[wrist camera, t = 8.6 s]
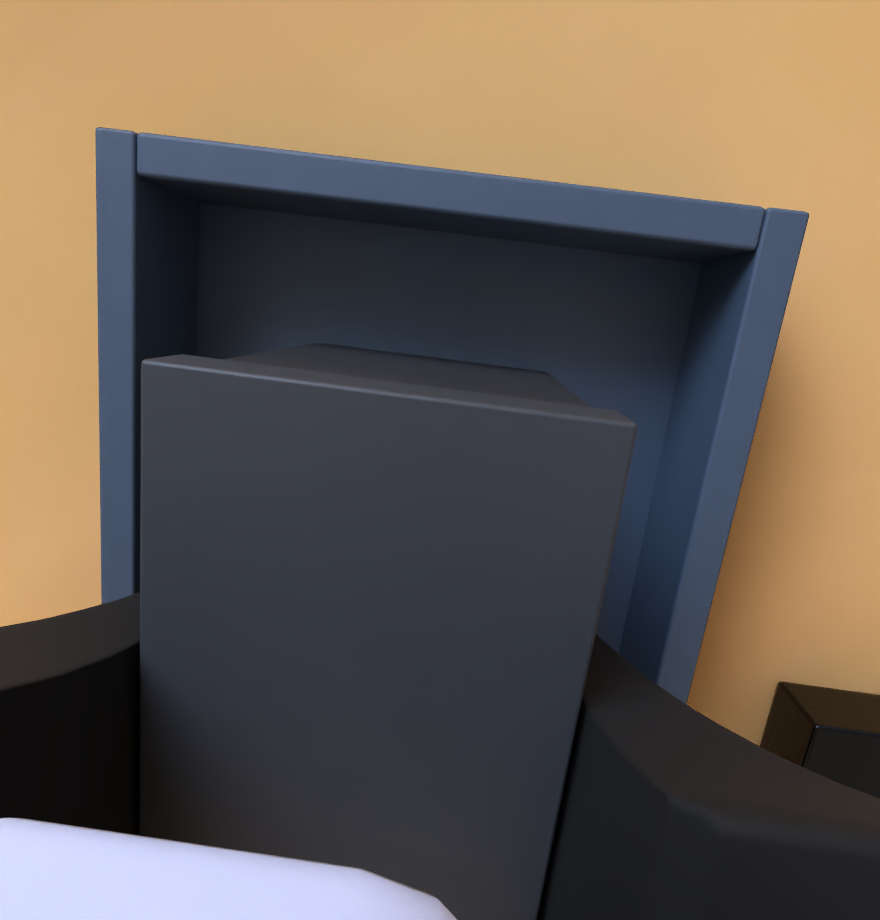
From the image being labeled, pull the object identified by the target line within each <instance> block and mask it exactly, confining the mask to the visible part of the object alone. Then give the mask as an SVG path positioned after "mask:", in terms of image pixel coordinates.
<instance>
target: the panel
mask: <svg viewBox="0 0 880 920" xmlns="http://www.w3.org/2000/svg"><path fill="white" fill-rule="evenodd" d="M760 747H761V748H763V749H765V750H767V751H770V752H772V753H774V754H776V755H778V756H780V757H782V758H784V759H786V760H788V761H790V762H792V763H795V764H797V765H799V766H801V767H804V768H806V769H808V770H810V771H812V772H815V773H817V774H819V775H821V776H824V777H826V778H828V779H830V780H833V781H835V782H837V783H840V784H842V785H845V786H847V787H850V788H852V789H855V790H858V791H860V792H863V793H866V794H868V795H871V796H874V797H876V798H879V799H880V695H874V694H867V693H860V692H853V691H846V690H838V689H831V688H824V687H817V686H810V685H802V684H795V683H788V682H779V683H778V686H777V689H776V693H775V696H774V699H773V703H772V706H771V710H770V713H769V717H768V720H767V724H766V727H765V730H764V734H763V737H762V741H761V744H760Z"/></svg>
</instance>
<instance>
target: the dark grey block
mask: <svg viewBox="0 0 880 920" xmlns="http://www.w3.org/2000/svg"><path fill="white" fill-rule="evenodd" d="M636 433H637V424H635V423H634V422H633V421H631V420H630V419H628V418H627V417H625V416H624V415H622V414H621V413H619V412H618V411H616V410H610V409H602V408H594V407H590V406H589V405H587V404H586V403H585V402H584V401H582V400H581V399H580V398H579V397H577V396H576V395H575V394H574V393H572V392H571V391H570V390H569V389H567V388H566V387H565V386H564V385H562V384H561V383H560V382H559V381H557V380H556V379H555V378H554V377H552V376H551V375H550V374H549V373H547V372H544V371H536V370H529V369H521V368H513V367H505V366H498V365H490V364H482V363H474V362H466V361H459V360H451V359H443V358H435V357H427V356H420V355H412V354H404V353H396V352H388V351H381V350H373V349H365V348H357V347H350V346H342V345H334V344H326V343H318V342H317V343H311V344H305V345H300V346H294V347H289V348H283V349H278V350H272V351H267V352H261V353H256V354H250V355H244V356H239V357H233V358H228V359H216V358H208V357H201V356H193V355H185V354H180V355H173V356H165V357H158V358H151V359H145V360H143V361H142V364H141V520H140V753H139V836H146V837H153V838H160V839H166V840H173V841H180V842H187V843H193V844H200V845H207V846H214V847H221V848H227V849H234V850H241V851H248V852H254V853H261V854H268V855H275V856H282V857H288V858H295V859H302V860H309V861H315V862H322V863H329V864H336V865H343V866H349V867H356V868H362V869H364V870H367V871H370V872H372V873H375V874H378V875H380V876H383V877H386V878H388V879H391V880H394V881H396V882H399V883H402V884H404V885H407V886H410V887H412V888H415V889H418V890H420V891H423V892H426V893H428V894H430V895H432V896H434V897H436V898H437V899H439V901H440V902H441V903H442V904H443V905H444V906H445V907H446V908H447V909H448V910H449V911H450V912H451V913H452V915H453V916H454V917H455V918H456V919H457V920H537V918H538V913H539V908H540V903H541V898H542V893H543V888H544V884H545V879H546V874H547V869H548V864H549V859H550V854H551V849H552V844H553V839H554V835H555V830H556V825H557V820H558V815H559V810H560V805H561V800H562V795H563V791H564V786H565V781H566V776H567V771H568V766H569V761H570V756H571V751H572V747H573V742H574V737H575V732H576V727H577V722H578V717H579V712H580V707H581V702H582V698H583V693H584V688H585V683H586V678H587V673H588V668H589V663H590V658H591V654H592V649H593V644H594V639H595V634H596V629H597V624H598V619H599V614H600V609H601V605H602V600H603V595H604V590H605V585H606V580H607V575H608V570H609V565H610V561H611V556H612V551H613V546H614V541H615V536H616V531H617V526H618V521H619V516H620V512H621V507H622V502H623V497H624V492H625V487H626V482H627V477H628V472H629V468H630V463H631V458H632V453H633V448H634V443H635V438H636Z"/></svg>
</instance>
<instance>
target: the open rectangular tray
mask: <svg viewBox="0 0 880 920" xmlns="http://www.w3.org/2000/svg"><path fill="white" fill-rule="evenodd" d="M96 202H97V279H98V356H99V432H100V509H101V586H102V604H105V603H108V602H111V601H115V600H118V599H121V598H124V597H127V596H130V595H133V594H136V593H139V592H140V520H141V364H142V361H143V360H145V359H151V358H158V357H165V356H173V355H180V354H185V355H193V356H201V357H208V358H216V359H228V358H233V357H239V356H244V355H250V354H256V353H261V352H267V351H272V350H278V349H283V348H289V347H294V346H300V345H305V344H311V343H317V342H318V343H326V344H334V345H342V346H350V347H357V348H365V349H373V350H381V351H388V352H396V353H404V354H412V355H420V356H427V357H435V358H443V359H451V360H459V361H466V362H474V363H482V364H490V365H498V366H505V367H513V368H521V369H529V370H536V371H544V372H547V373H549V374H550V375H551V376H552V377H554V378H555V379H556V380H557V381H559V382H560V383H561V384H562V385H564V386H565V387H566V388H567V389H569V390H570V391H571V392H572V393H574V394H575V395H576V396H577V397H579V398H580V399H581V400H582V401H584V402H585V403H586V404H587V405H589V406H590V407H594V408H602V409H610V410H616V411H618V412H619V413H621V414H622V415H624V416H625V417H627V418H628V419H630V420H631V421H633V422H634V423H635V424H637V433H636V438H635V443H634V448H633V453H632V458H631V463H630V468H629V472H628V477H627V482H626V487H625V492H624V497H623V502H622V507H621V512H620V516H619V521H618V526H617V531H616V536H615V541H614V546H613V551H612V556H611V561H610V565H609V570H608V575H607V580H606V585H605V590H604V595H603V600H602V605H601V609H600V614H599V619H598V624H597V629H596V634H597V635H598V636H599V637H600V638H601V639H602V640H603V641H605V642H606V643H607V644H608V645H609V646H610V647H611V648H612V649H614V650H615V651H616V652H617V653H618V654H619V655H621V656H622V657H623V658H624V659H625V660H626V661H628V662H629V663H630V664H631V665H633V666H634V667H635V668H636V669H638V670H639V671H640V672H641V673H643V674H644V675H645V676H647V677H648V678H649V679H650V680H652V681H653V682H654V683H656V684H657V685H659V686H660V687H661V688H663V689H664V690H666V691H667V692H669V693H670V694H672V695H673V696H675V697H676V698H678V699H679V700H681V701H682V702H684V703H685V704H686V703H687V699H688V695H689V692H690V688H691V684H692V680H693V676H694V672H695V668H696V664H697V660H698V656H699V652H700V648H701V644H702V640H703V636H704V632H705V628H706V624H707V620H708V616H709V612H710V608H711V604H712V600H713V596H714V592H715V588H716V584H717V580H718V576H719V572H720V568H721V564H722V560H723V556H724V552H725V548H726V544H727V540H728V536H729V532H730V528H731V524H732V520H733V516H734V512H735V508H736V504H737V500H738V496H739V492H740V488H741V484H742V481H743V477H744V473H745V469H746V465H747V461H748V457H749V453H750V449H751V445H752V441H753V437H754V433H755V429H756V425H757V421H758V417H759V413H760V409H761V405H762V401H763V397H764V393H765V389H766V385H767V381H768V377H769V373H770V369H771V365H772V361H773V357H774V353H775V349H776V345H777V341H778V337H779V333H780V329H781V325H782V321H783V317H784V313H785V309H786V305H787V301H788V297H789V293H790V289H791V285H792V281H793V277H794V274H795V270H796V266H797V262H798V258H799V254H800V250H801V246H802V242H803V238H804V234H805V230H806V226H807V222H808V218H809V213H807V212H803V211H795V210H786V209H778V208H768V209H764V208H762V207H759V206H751V205H742V204H734V203H726V202H717V201H709V200H700V199H692V198H684V197H675V196H667V195H659V194H650V193H642V192H634V191H625V190H617V189H609V188H600V187H592V186H584V185H575V184H567V183H559V182H550V181H542V180H534V179H525V178H517V177H509V176H500V175H492V174H484V173H475V172H467V171H459V170H450V169H442V168H433V167H425V166H417V165H408V164H400V163H392V162H383V161H375V160H367V159H358V158H350V157H342V156H333V155H325V154H317V153H308V152H300V151H292V150H283V149H275V148H267V147H258V146H250V145H242V144H233V143H225V142H217V141H208V140H200V139H192V138H183V137H175V136H167V135H158V134H150V133H139V134H137V133H135V132H134V131H127V130H119V129H110V128H102V127H99V128H96Z"/></svg>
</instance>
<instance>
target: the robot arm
mask: <svg viewBox="0 0 880 920" xmlns="http://www.w3.org/2000/svg"><path fill="white" fill-rule="evenodd" d="M139 753H140V592H139V593H136V594H133V595H130V596H127V597H124V598H121V599H118V600H115V601H111V602H108V603H105V604H101V605H98V606H94V607H91V608H87V609H83V610H79V611H75V612H71V613H67V614H63V615H59V616H55V617H51V618H46V619H41V620H37V621H31V622H26V623H20V624H14V625H9V626H3V627H0V920H457V919H456V918H455V917H454V916H453V915H452V913H451V912H450V911H449V910H448V909H447V908H446V907H445V906H444V905H443V904H442V903H441V902H440V901H439V899H437V898H436V897H434V896H432V895H430V894H428V893H426V892H423V891H420V890H418V889H415V888H412V887H410V886H407V885H404V884H402V883H399V882H396V881H394V880H391V879H388V878H386V877H383V876H380V875H378V874H375V873H372V872H370V871H367V870H364V869H362V868H356V867H349V866H343V865H336V864H329V863H322V862H315V861H309V860H302V859H295V858H288V857H282V856H275V855H268V854H261V853H254V852H248V851H241V850H234V849H227V848H221V847H214V846H207V845H200V844H193V843H187V842H180V841H173V840H166V839H160V838H153V837H146V836H139ZM537 920H880V799H879V798H876V797H874V796H871V795H868V794H866V793H863V792H860V791H858V790H855V789H852V788H850V787H847V786H845V785H842V784H840V783H837V782H835V781H833V780H830V779H828V778H826V777H824V776H821V775H819V774H817V773H815V772H812V771H810V770H808V769H806V768H804V767H801V766H799V765H797V764H795V763H792V762H790V761H788V760H786V759H784V758H782V757H780V756H778V755H776V754H774V753H772V752H770V751H767V750H765V749H763V748H761V747H759V746H757V745H755V744H754V743H752V742H750V741H748V740H746V739H744V738H743V737H741V736H739V735H737V734H735V733H734V732H732V731H730V730H728V729H726V728H724V727H723V726H721V725H719V724H717V723H715V722H714V721H712V720H710V719H709V718H707V717H705V716H704V715H702V714H700V713H699V712H697V711H696V710H694V709H693V708H691V707H690V706H688V705H687V704H685V703H684V702H682V701H681V700H679V699H678V698H676V697H675V696H673V695H672V694H670V693H669V692H667V691H666V690H664V689H663V688H661V687H660V686H659V685H657V684H656V683H654V682H653V681H652V680H650V679H649V678H648V677H647V676H645V675H644V674H643V673H641V672H640V671H639V670H638V669H636V668H635V667H634V666H633V665H631V664H630V663H629V662H628V661H626V660H625V659H624V658H623V657H622V656H621V655H619V654H618V653H617V652H616V651H615V650H614V649H612V648H611V647H610V646H609V645H608V644H607V643H606V642H605V641H603V640H602V639H601V638H600V637H599V636H598V635H597V634H595V639H594V644H593V649H592V654H591V658H590V663H589V668H588V673H587V678H586V683H585V688H584V693H583V698H582V702H581V707H580V712H579V717H578V722H577V727H576V732H575V737H574V742H573V747H572V751H571V756H570V761H569V766H568V771H567V776H566V781H565V786H564V791H563V795H562V800H561V805H560V810H559V815H558V820H557V825H556V830H555V835H554V839H553V844H552V849H551V854H550V859H549V864H548V869H547V874H546V879H545V884H544V888H543V893H542V898H541V903H540V908H539V913H538V918H537Z"/></svg>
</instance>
